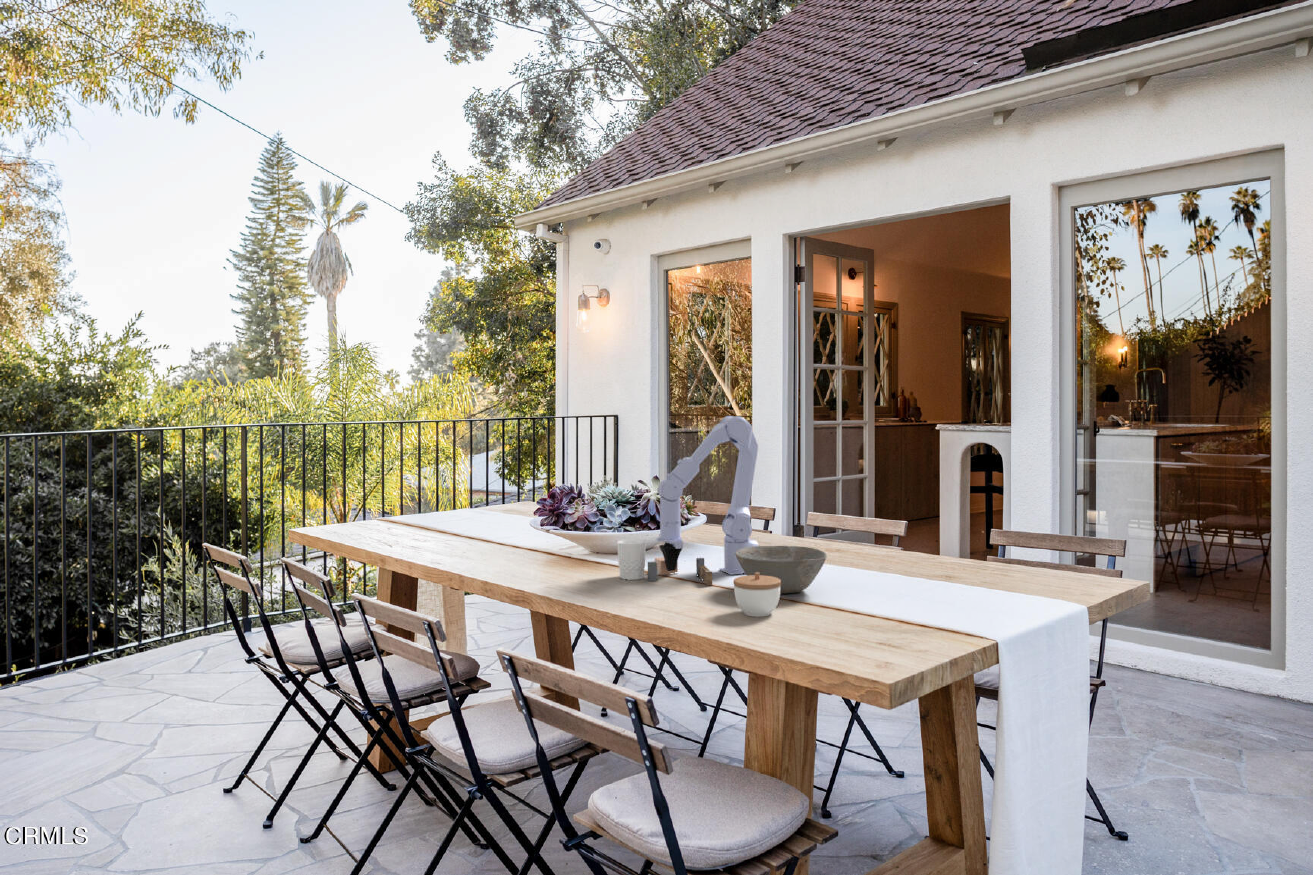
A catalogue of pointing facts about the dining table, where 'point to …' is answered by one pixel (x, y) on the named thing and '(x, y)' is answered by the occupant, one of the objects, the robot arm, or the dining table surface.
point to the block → (663, 566)
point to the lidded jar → (757, 594)
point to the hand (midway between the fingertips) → (671, 570)
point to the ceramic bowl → (783, 564)
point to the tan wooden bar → (706, 575)
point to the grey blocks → (654, 572)
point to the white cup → (631, 559)
